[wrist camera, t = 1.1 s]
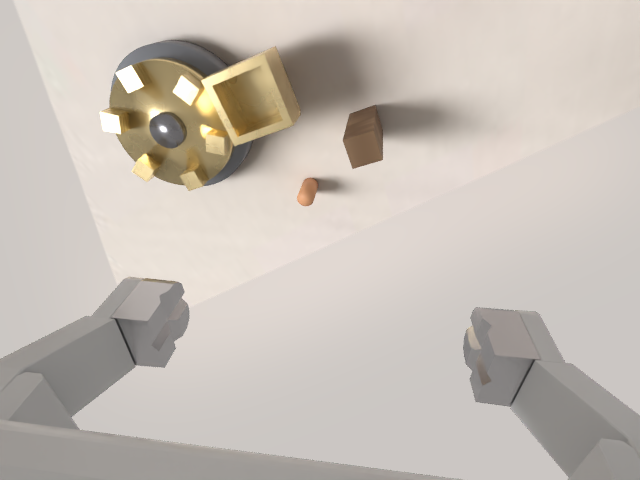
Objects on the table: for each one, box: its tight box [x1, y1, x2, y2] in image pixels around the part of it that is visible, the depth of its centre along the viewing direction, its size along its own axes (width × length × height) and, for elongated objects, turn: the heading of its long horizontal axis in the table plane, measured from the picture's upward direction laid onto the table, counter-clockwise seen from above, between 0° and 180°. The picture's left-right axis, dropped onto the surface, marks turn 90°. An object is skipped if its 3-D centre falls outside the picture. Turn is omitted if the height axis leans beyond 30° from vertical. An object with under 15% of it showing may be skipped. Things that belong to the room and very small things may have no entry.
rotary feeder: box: [100, 46, 301, 191], centre depth 31 cm, size 17×11×4 cm, turn 111°
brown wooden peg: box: [343, 105, 383, 169], centre depth 31 cm, size 2×2×7 cm
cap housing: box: [111, 40, 318, 206], centre depth 35 cm, size 16×18×3 cm
